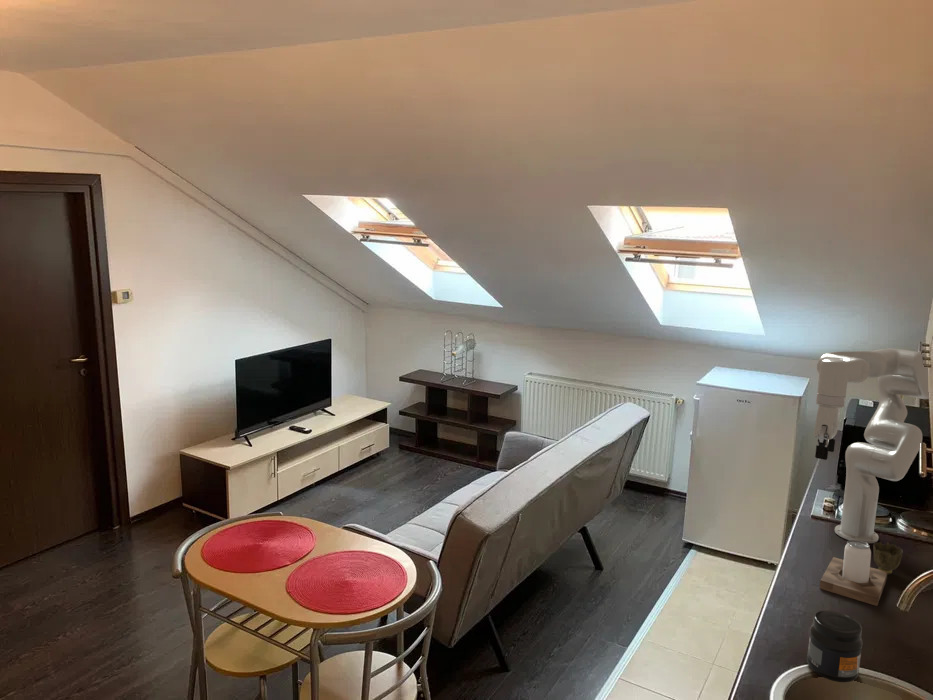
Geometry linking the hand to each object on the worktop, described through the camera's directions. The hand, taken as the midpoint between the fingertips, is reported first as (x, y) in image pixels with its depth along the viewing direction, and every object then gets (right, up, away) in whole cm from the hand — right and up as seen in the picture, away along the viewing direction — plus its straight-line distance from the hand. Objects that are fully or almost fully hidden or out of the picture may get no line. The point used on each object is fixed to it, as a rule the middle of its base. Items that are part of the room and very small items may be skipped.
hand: (824, 454), depth 202 cm
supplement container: (-26, -41, -51) cm, 70 cm away
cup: (+15, -34, -5) cm, 38 cm away
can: (+2, -35, -13) cm, 37 cm away
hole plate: (+1, -35, -13) cm, 37 cm away
